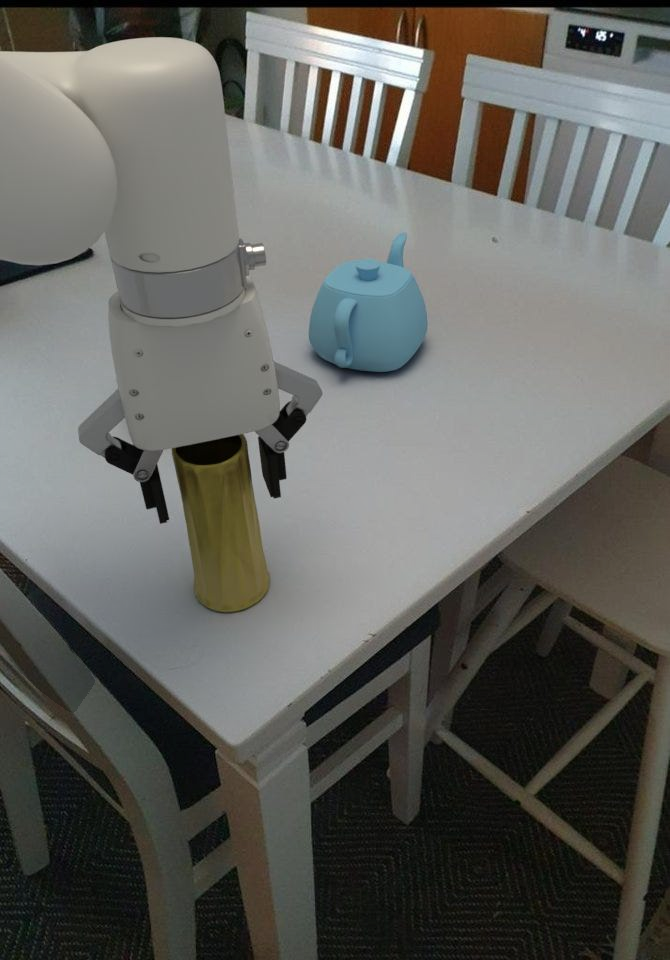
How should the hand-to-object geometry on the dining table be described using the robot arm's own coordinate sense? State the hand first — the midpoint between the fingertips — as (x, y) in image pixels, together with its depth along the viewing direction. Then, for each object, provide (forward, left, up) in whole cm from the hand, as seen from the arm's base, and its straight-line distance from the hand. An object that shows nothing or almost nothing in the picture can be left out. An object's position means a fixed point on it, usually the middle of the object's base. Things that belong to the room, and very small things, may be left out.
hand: (217, 497), depth 59 cm
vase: (0, 0, -9) cm, 9 cm away
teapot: (+23, +32, -9) cm, 41 cm away
